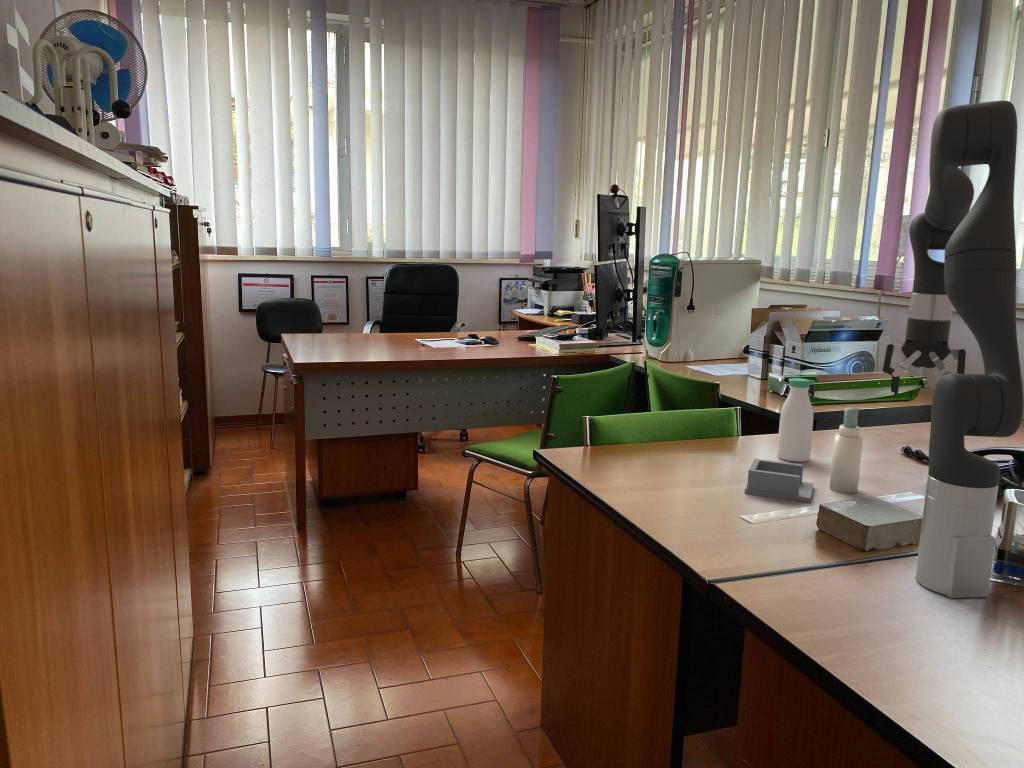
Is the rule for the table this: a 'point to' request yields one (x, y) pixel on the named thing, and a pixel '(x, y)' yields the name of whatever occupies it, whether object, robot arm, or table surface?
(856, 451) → the plastic bottle
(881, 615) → the table surface
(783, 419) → the milk bottle
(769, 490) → the box
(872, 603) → the table surface
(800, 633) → the table surface
